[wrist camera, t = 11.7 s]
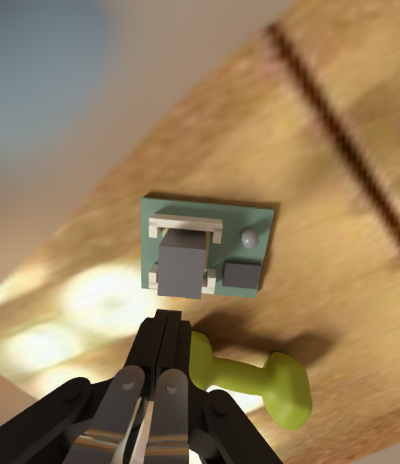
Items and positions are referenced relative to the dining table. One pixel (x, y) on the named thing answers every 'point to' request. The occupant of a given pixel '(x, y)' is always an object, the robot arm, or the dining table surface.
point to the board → (210, 242)
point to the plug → (181, 264)
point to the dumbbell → (256, 381)
